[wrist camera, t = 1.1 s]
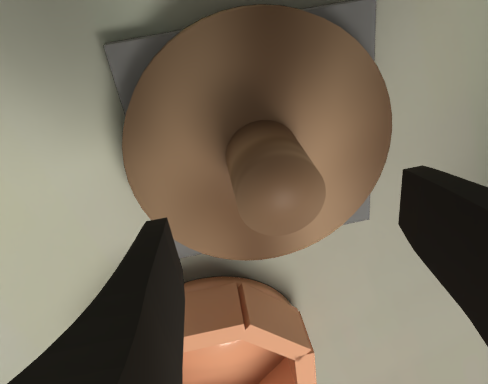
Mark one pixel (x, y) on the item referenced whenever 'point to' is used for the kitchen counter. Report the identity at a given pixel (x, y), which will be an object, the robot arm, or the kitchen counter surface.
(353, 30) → the mat
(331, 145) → the lid
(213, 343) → the bowl
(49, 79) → the kitchen counter surface
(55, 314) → the kitchen counter surface
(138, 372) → the robot arm
